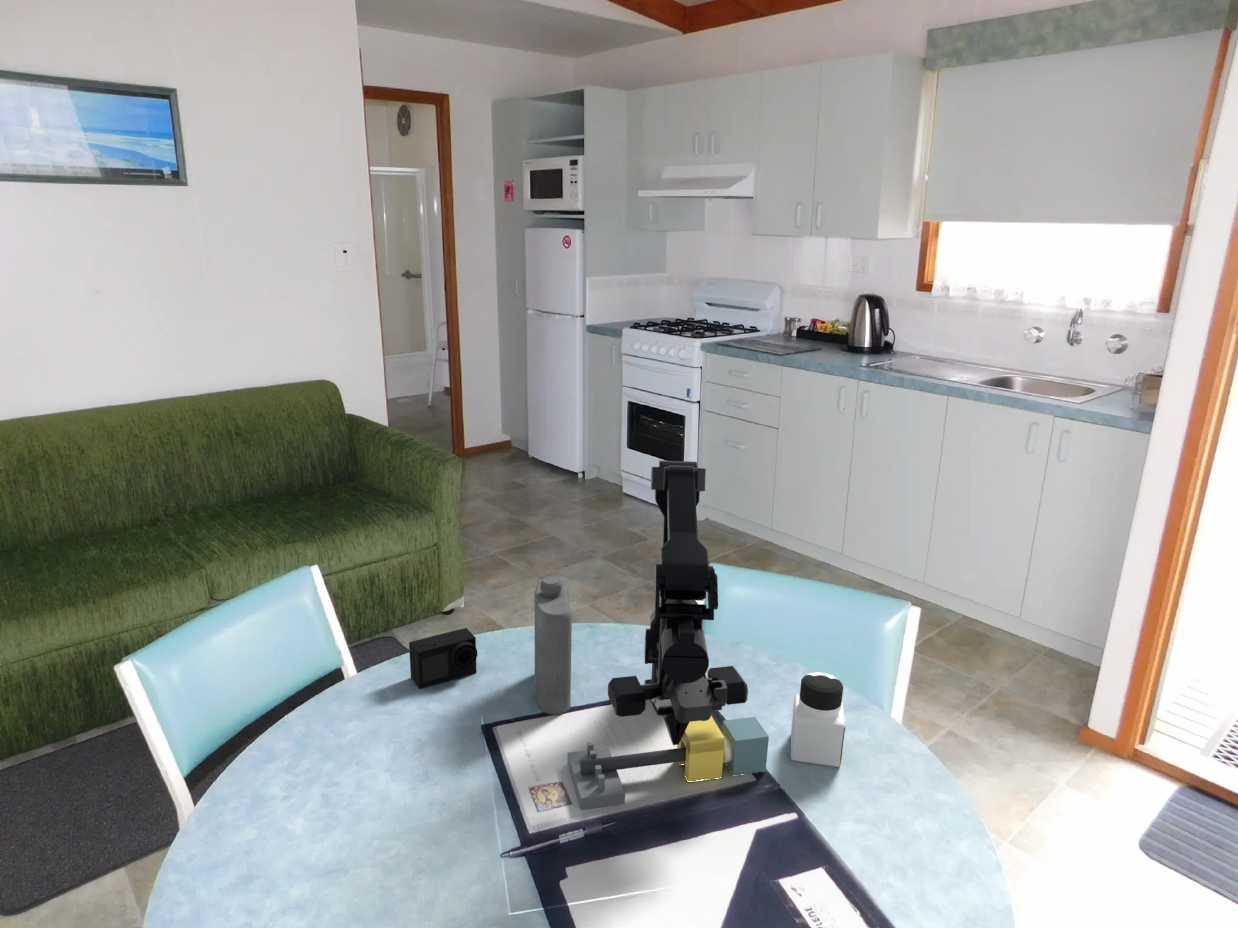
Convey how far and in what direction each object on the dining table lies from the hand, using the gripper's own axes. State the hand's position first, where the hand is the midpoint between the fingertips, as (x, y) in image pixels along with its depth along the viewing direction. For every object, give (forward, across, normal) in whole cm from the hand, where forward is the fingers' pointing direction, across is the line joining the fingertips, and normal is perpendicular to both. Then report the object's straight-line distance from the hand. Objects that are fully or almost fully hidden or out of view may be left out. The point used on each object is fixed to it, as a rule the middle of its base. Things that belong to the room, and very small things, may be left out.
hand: (674, 743), depth 116 cm
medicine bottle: (+5, +23, +1) cm, 23 cm away
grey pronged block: (+5, -11, 0) cm, 12 cm away
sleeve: (+5, +4, 0) cm, 6 cm away
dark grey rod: (+5, 0, 0) cm, 5 cm away
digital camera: (+5, -31, +33) cm, 45 cm away
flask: (+5, -13, +25) cm, 29 cm away
